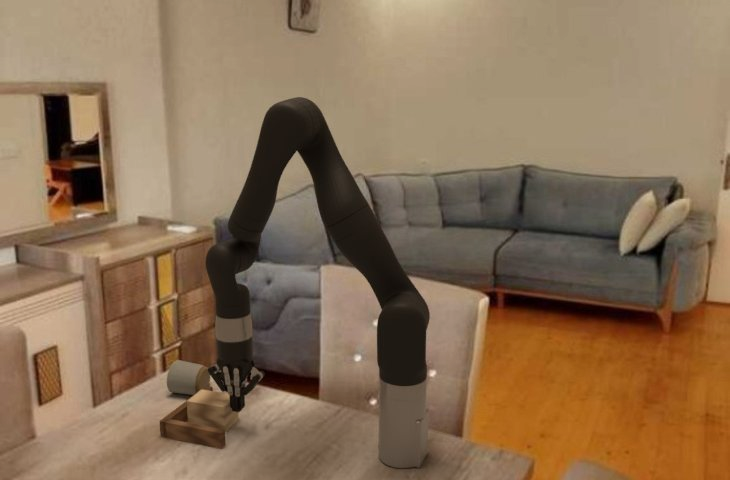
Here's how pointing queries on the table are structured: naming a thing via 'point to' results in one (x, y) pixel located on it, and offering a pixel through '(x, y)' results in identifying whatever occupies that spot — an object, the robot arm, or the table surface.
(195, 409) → the oak block
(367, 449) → the table surface
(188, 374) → the ceramic mug
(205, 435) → the corner fence
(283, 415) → the table surface
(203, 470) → the table surface
